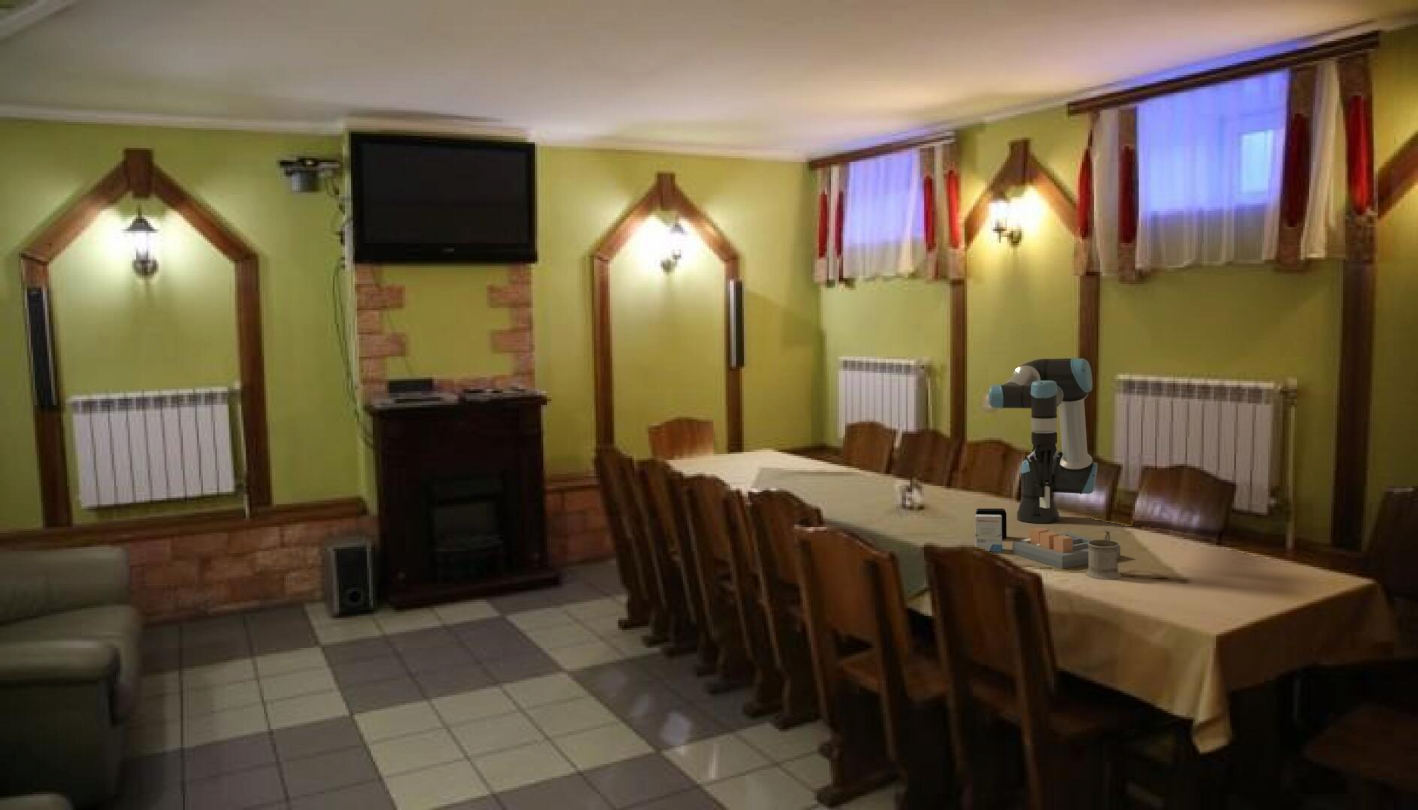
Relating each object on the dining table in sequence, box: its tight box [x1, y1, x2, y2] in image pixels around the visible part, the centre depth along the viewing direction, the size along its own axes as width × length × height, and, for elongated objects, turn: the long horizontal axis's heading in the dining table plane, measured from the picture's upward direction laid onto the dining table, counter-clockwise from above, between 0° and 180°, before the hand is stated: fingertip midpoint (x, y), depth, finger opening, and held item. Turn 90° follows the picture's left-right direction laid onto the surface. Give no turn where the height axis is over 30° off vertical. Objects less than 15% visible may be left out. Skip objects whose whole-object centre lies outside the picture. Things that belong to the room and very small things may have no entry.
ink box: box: [974, 513, 1003, 553], centre depth 328 cm, size 9×5×12 cm, turn 71°
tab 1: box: [1029, 527, 1050, 545], centre depth 320 cm, size 4×4×6 cm
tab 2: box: [1040, 531, 1060, 549], centre depth 314 cm, size 4×4×6 cm
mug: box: [1085, 529, 1122, 581], centre depth 296 cm, size 14×10×12 cm
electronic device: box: [975, 507, 1008, 540], centre depth 345 cm, size 4×10×10 cm, turn 78°
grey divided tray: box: [1011, 531, 1121, 570], centre depth 317 cm, size 24×22×4 cm
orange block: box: [1054, 535, 1073, 553], centre depth 309 cm, size 4×4×6 cm
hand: (1044, 507), depth 305 cm, fingers closed
